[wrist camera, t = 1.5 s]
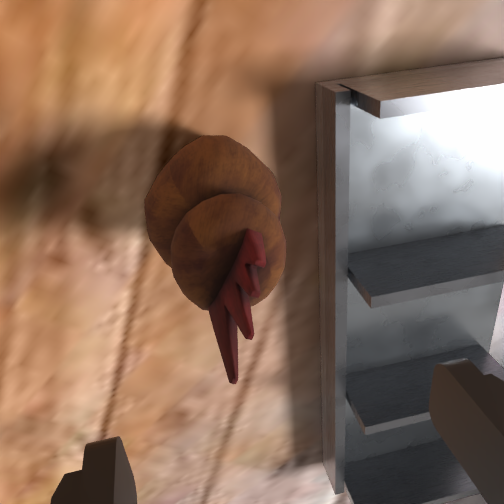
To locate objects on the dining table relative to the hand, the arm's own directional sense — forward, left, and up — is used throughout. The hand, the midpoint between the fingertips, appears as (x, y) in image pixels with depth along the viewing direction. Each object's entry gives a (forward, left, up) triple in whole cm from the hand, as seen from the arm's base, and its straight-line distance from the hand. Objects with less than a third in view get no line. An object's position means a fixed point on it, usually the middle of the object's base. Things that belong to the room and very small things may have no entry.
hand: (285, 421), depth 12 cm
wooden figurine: (0, 0, -19) cm, 19 cm away
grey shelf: (-14, +12, -18) cm, 26 cm away
